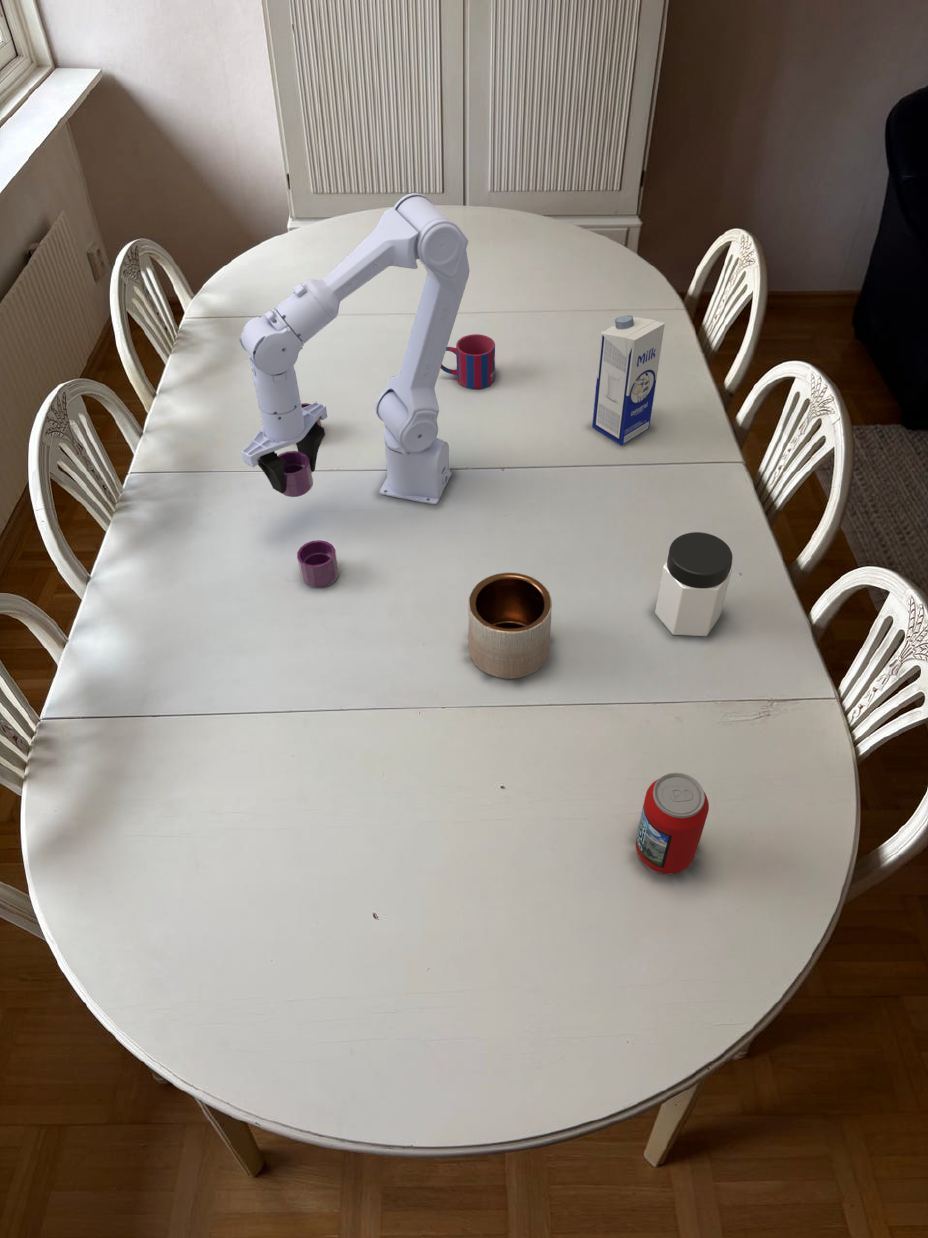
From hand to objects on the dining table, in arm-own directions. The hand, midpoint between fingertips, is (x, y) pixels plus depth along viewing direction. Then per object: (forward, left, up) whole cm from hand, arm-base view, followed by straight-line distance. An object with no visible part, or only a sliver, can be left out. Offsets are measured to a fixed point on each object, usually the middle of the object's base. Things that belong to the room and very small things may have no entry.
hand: (294, 478), depth 146 cm
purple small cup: (-7, +10, -8) cm, 15 cm away
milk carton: (-42, -36, -9) cm, 56 cm away
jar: (-59, +3, -9) cm, 60 cm away
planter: (-37, +16, -9) cm, 41 cm away
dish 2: (+8, -20, -8) cm, 23 cm away
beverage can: (-62, +40, -9) cm, 74 cm away
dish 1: (0, 0, -1) cm, 1 cm away
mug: (-13, -43, -9) cm, 46 cm away
